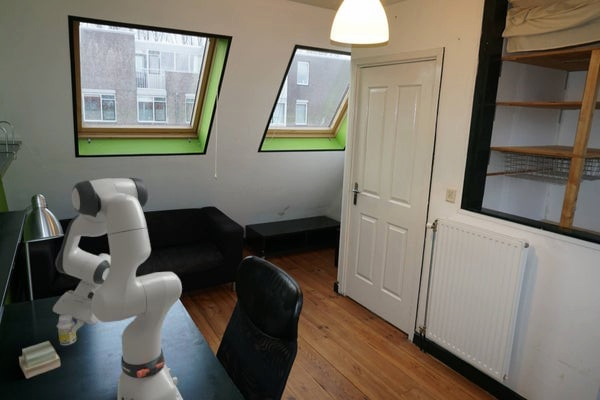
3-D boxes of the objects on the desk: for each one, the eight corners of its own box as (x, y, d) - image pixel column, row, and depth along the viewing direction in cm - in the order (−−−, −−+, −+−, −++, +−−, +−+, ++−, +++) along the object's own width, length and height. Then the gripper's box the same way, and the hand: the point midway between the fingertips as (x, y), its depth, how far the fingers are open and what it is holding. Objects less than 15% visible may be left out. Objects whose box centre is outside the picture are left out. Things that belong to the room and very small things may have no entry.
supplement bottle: (72, 336, 153) (70, 312, 151) (79, 341, 150) (76, 317, 148) (57, 341, 149) (54, 317, 147) (63, 347, 145) (60, 322, 143)
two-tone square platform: (60, 366, 140) (59, 350, 139) (26, 378, 133) (24, 362, 132) (52, 353, 147) (51, 338, 146) (19, 364, 140) (17, 349, 139)
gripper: (61, 286, 156) (39, 320, 149) (100, 297, 148) (78, 334, 141) (73, 292, 161) (52, 326, 154) (111, 303, 153) (90, 339, 146)
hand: (65, 330), depth 148 cm, fingers closed on supplement bottle, 5 cm apart
